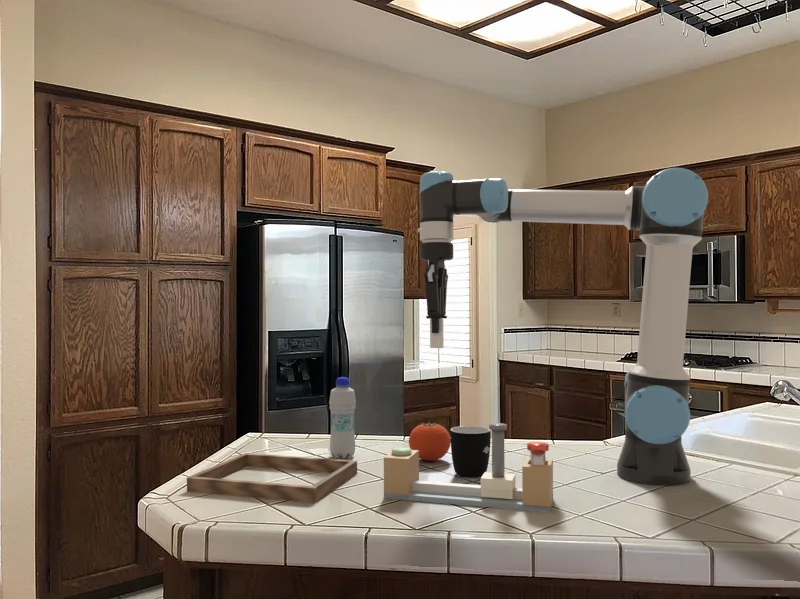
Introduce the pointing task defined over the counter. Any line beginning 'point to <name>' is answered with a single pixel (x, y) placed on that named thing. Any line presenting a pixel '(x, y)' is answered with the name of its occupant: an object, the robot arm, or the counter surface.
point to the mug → (470, 450)
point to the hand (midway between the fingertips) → (436, 347)
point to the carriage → (497, 468)
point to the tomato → (430, 441)
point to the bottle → (342, 419)
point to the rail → (465, 485)
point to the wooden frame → (215, 485)
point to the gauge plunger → (537, 452)
